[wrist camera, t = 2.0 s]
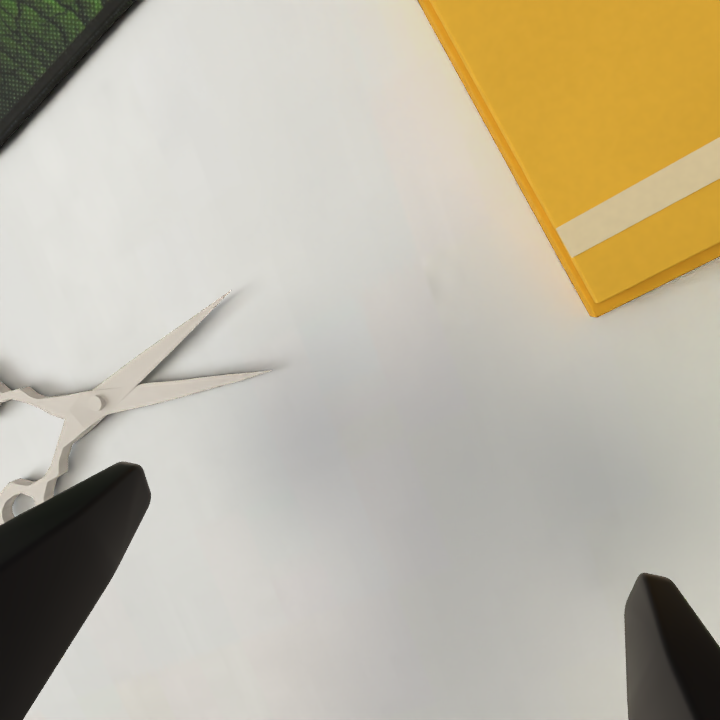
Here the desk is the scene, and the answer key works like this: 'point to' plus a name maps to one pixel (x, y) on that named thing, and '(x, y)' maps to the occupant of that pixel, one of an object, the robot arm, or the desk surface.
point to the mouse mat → (45, 49)
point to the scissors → (106, 406)
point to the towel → (602, 128)
